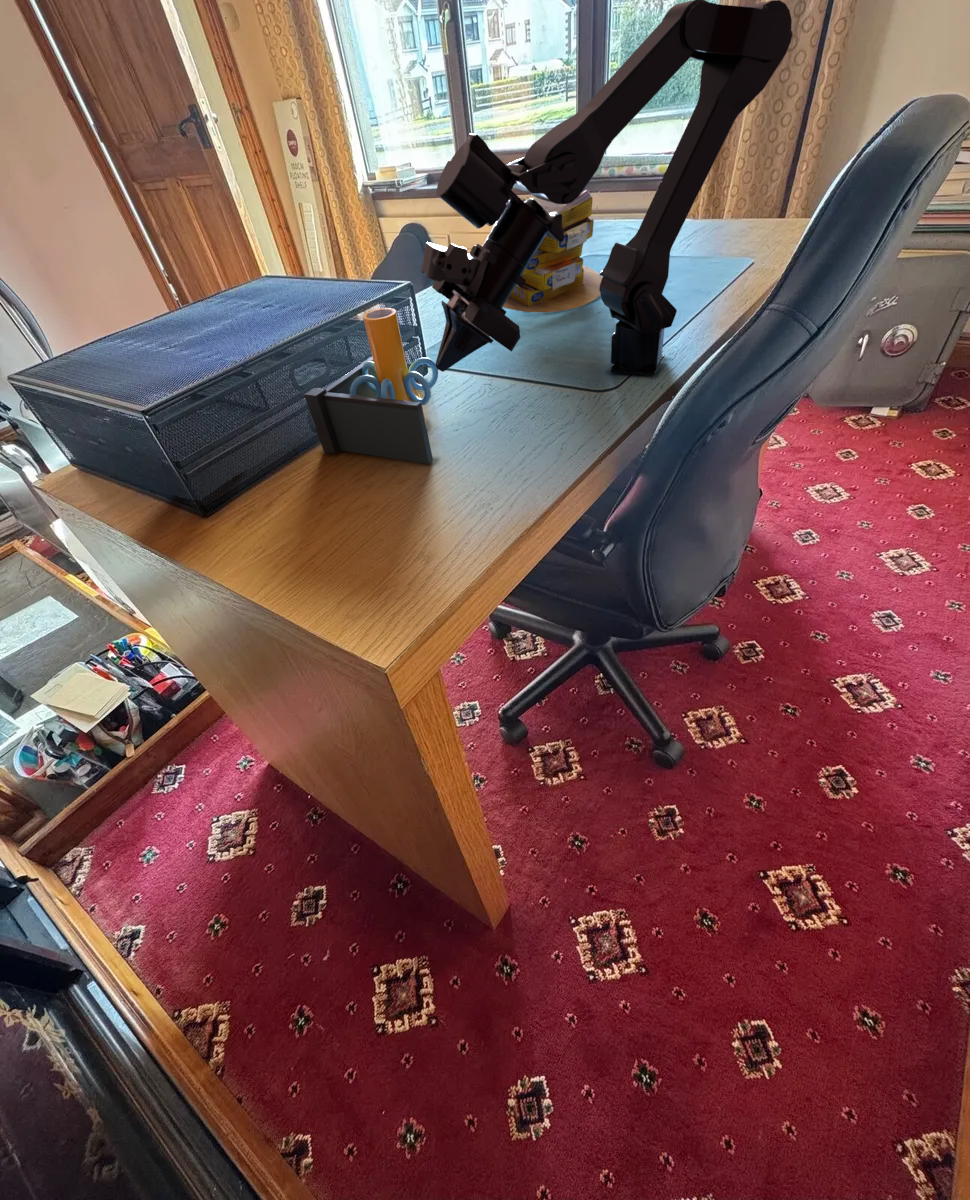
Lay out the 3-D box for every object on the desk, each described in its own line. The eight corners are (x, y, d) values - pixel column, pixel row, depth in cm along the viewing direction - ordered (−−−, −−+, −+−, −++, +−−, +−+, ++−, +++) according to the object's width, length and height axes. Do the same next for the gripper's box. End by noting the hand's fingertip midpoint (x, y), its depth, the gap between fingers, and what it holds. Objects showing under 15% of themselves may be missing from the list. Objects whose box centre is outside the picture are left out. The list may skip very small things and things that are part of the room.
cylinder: (436, 450, 72) (413, 328, 62) (358, 454, 74) (323, 336, 63) (448, 407, 81) (430, 293, 71) (378, 411, 82) (350, 301, 72)
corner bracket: (485, 406, 80) (478, 348, 74) (425, 468, 69) (411, 406, 64) (391, 397, 86) (379, 343, 80) (323, 452, 75) (303, 394, 70)
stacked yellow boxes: (630, 291, 109) (636, 185, 97) (518, 325, 102) (511, 216, 91) (561, 269, 125) (559, 176, 114) (461, 296, 119) (449, 202, 108)
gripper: (432, 199, 70) (372, 315, 76) (478, 221, 57) (401, 360, 63) (499, 255, 76) (439, 358, 83) (555, 286, 63) (479, 407, 69)
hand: (438, 369), depth 74 cm, fingers closed, pressing on cylinder
